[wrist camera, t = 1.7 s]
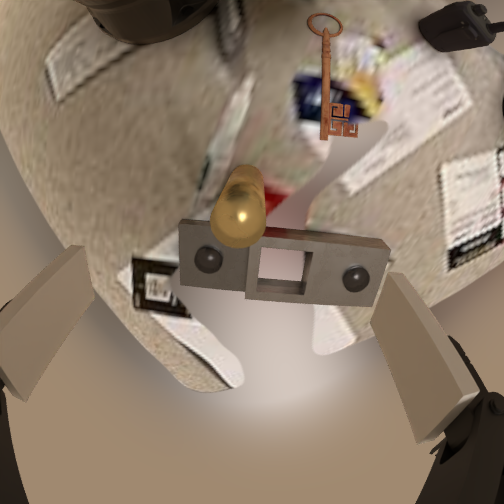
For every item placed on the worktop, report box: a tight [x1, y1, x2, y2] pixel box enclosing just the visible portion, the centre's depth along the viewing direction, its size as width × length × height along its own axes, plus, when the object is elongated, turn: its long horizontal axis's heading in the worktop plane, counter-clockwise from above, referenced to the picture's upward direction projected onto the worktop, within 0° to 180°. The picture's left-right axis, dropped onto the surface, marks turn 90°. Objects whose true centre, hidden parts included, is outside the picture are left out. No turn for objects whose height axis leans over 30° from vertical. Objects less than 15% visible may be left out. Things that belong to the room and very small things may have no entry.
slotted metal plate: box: [179, 219, 391, 307], centre depth 32 cm, size 8×24×4 cm, turn 85°
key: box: [308, 13, 358, 140], centre depth 24 cm, size 6×1×15 cm
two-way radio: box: [419, 1, 504, 52], centre depth 14 cm, size 6×4×15 cm
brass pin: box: [210, 165, 266, 248], centre depth 24 cm, size 4×4×13 cm
